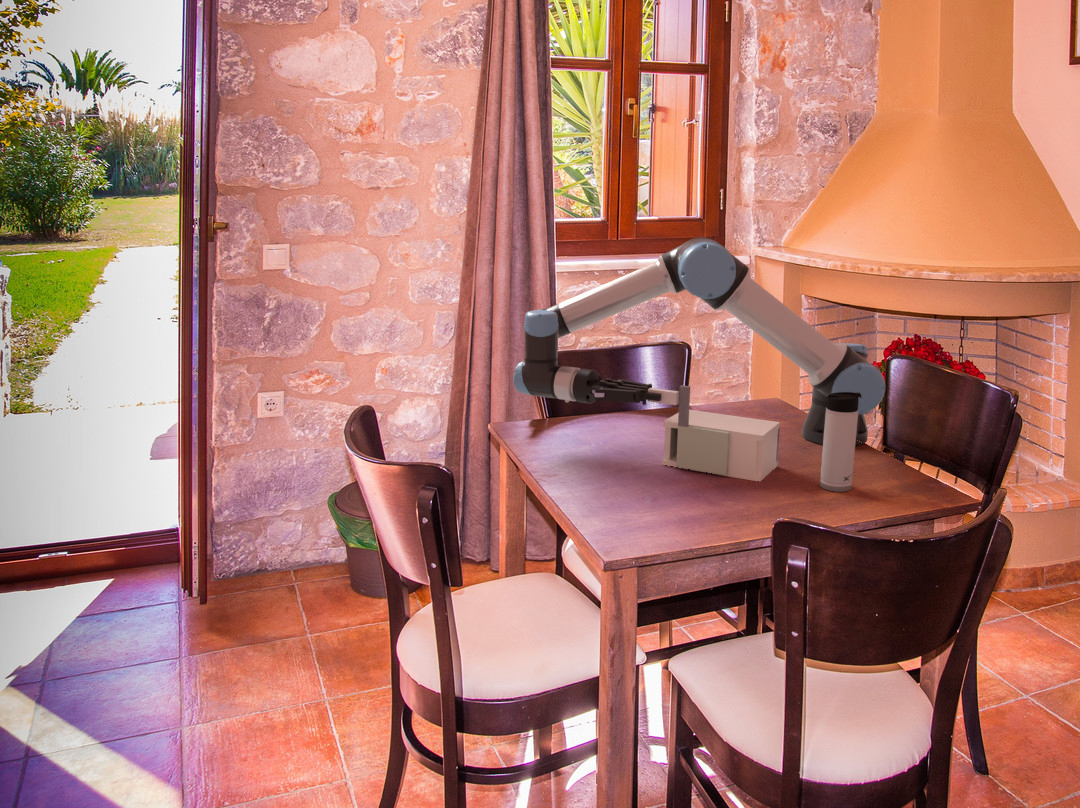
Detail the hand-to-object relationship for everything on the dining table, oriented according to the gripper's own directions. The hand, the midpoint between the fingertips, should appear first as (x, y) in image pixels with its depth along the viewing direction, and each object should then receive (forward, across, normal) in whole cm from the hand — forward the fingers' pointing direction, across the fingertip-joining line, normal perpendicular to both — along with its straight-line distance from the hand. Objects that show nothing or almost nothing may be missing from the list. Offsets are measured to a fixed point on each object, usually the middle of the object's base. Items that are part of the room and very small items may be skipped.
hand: (677, 398), depth 211 cm
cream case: (+7, -8, -16) cm, 19 cm away
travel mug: (+33, -6, -16) cm, 37 cm away
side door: (+6, -1, -15) cm, 16 cm away
